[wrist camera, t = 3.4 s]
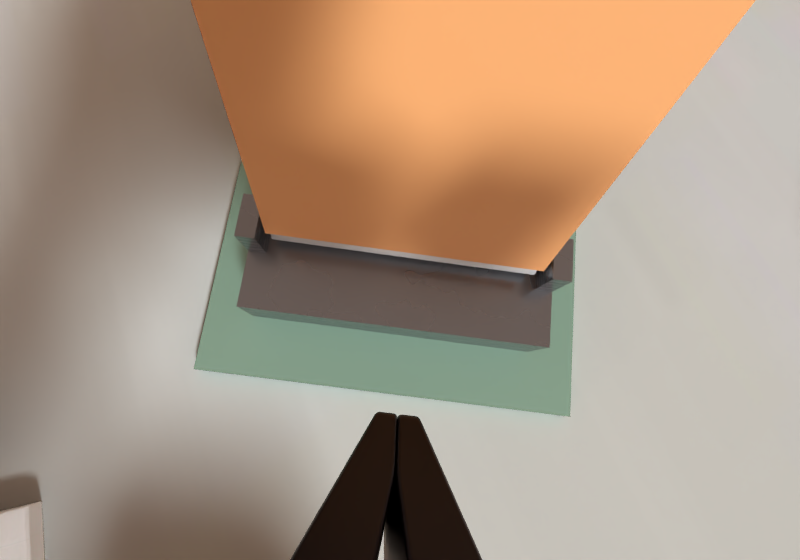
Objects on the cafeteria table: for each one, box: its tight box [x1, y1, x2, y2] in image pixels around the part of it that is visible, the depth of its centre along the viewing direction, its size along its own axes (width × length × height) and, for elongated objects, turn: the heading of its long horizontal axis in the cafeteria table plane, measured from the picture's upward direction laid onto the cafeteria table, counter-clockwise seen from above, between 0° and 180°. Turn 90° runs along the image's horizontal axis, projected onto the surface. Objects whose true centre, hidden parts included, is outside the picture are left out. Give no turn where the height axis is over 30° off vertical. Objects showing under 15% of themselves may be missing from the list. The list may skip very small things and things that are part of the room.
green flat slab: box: [194, 161, 576, 417], centre depth 21 cm, size 22×16×1 cm
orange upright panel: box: [191, 0, 755, 275], centre depth 12 cm, size 2×10×11 cm, turn 80°
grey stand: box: [234, 193, 574, 352], centre depth 16 cm, size 17×12×10 cm
